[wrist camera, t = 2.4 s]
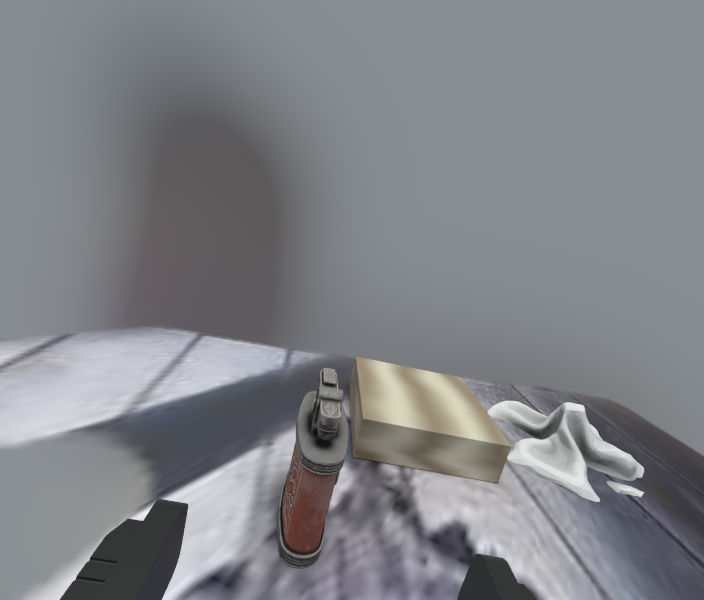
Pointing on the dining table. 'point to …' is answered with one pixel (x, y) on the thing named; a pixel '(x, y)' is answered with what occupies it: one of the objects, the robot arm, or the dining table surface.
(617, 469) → the cloth
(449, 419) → the base block
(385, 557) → the dining table surface
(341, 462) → the lighter
